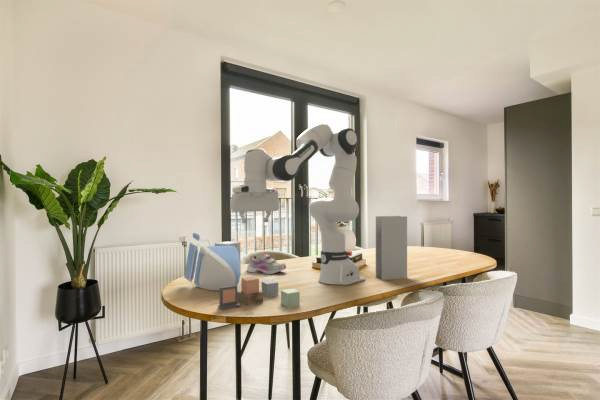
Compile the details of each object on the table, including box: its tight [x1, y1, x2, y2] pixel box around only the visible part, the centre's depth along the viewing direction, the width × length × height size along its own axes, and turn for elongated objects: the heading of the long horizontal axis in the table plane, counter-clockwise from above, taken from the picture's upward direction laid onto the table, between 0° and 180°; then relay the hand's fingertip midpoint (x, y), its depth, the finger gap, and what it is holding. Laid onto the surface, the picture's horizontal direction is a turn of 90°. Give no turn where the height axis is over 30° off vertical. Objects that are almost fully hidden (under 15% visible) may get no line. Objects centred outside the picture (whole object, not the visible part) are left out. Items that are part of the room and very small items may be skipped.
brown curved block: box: [237, 290, 264, 307], centre depth 127 cm, size 7×7×4 cm
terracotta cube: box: [240, 275, 260, 294], centre depth 127 cm, size 5×5×5 cm
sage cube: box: [280, 288, 301, 308], centre depth 123 cm, size 5×5×5 cm
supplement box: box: [214, 240, 242, 276], centre depth 169 cm, size 10×9×17 cm
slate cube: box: [261, 279, 279, 297], centre depth 137 cm, size 5×5×5 cm
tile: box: [217, 285, 241, 311], centre depth 120 cm, size 7×3×7 cm, turn 123°
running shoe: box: [246, 253, 287, 275], centre depth 178 cm, size 9×22×10 cm, turn 73°
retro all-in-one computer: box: [183, 232, 242, 291], centre depth 147 cm, size 25×23×17 cm
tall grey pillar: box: [375, 215, 408, 281], centre depth 165 cm, size 14×6×30 cm, turn 108°
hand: (255, 222), depth 136 cm, fingers open, 8 cm apart
